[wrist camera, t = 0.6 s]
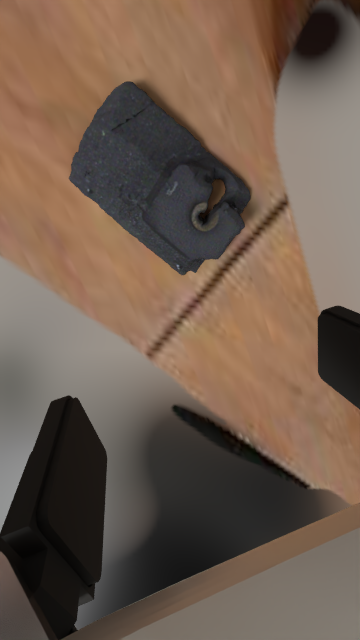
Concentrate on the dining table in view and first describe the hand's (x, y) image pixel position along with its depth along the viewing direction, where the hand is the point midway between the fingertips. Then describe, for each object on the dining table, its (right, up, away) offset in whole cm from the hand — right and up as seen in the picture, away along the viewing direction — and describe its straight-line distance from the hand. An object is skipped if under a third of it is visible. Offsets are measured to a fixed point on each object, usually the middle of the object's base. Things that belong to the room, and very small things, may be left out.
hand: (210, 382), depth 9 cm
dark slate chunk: (-3, +20, +25) cm, 32 cm away
